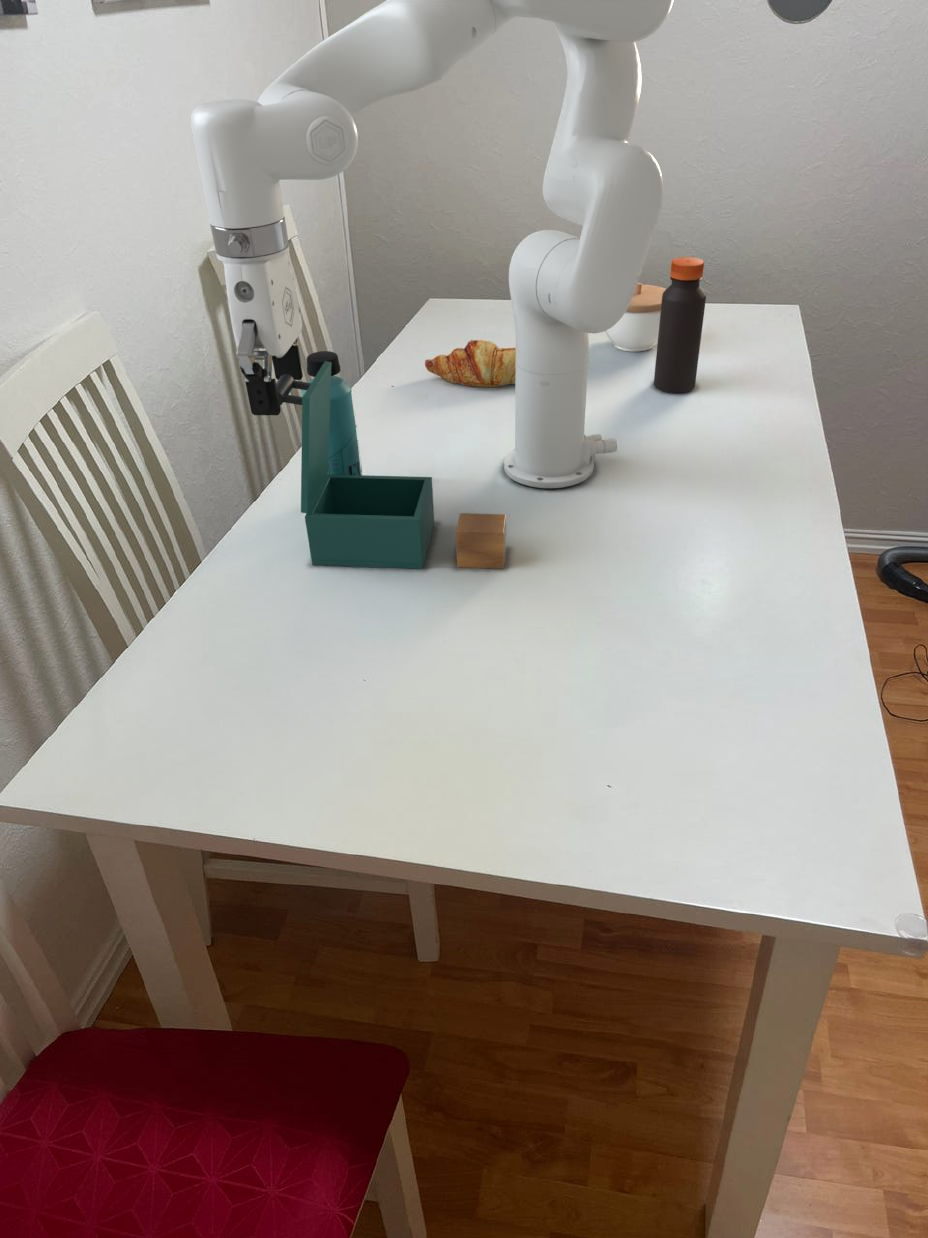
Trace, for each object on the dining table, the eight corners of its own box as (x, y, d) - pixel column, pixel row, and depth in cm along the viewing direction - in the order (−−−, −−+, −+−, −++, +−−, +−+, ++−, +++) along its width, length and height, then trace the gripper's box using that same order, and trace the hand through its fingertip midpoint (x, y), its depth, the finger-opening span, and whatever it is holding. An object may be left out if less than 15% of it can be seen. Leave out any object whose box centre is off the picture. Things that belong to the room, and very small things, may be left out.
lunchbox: (434, 523, 118) (431, 476, 114) (422, 569, 110) (419, 519, 106) (331, 520, 119) (325, 474, 115) (312, 565, 111) (304, 516, 107)
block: (506, 549, 113) (506, 514, 110) (503, 569, 109) (503, 533, 106) (461, 547, 113) (459, 512, 110) (457, 567, 110) (455, 531, 107)
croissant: (548, 393, 159) (551, 346, 158) (547, 387, 149) (550, 336, 148) (428, 388, 161) (430, 341, 160) (419, 382, 152) (421, 332, 150)
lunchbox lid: (331, 361, 106) (285, 354, 107) (309, 398, 98) (260, 390, 98) (328, 471, 115) (285, 464, 115) (307, 513, 107) (261, 506, 107)
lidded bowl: (592, 335, 172) (595, 275, 166) (657, 330, 173) (663, 270, 167) (607, 359, 162) (611, 296, 156) (677, 354, 163) (684, 291, 156)
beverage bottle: (357, 511, 121) (340, 365, 109) (309, 508, 122) (287, 363, 110) (370, 488, 126) (356, 346, 114) (325, 485, 127) (305, 344, 116)
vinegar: (645, 387, 152) (656, 262, 140) (666, 375, 156) (679, 252, 144) (681, 397, 148) (696, 270, 136) (702, 384, 152) (718, 259, 140)
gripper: (262, 262, 87) (290, 429, 97) (306, 216, 100) (327, 366, 111) (186, 263, 88) (222, 429, 98) (240, 217, 101) (267, 366, 112)
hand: (278, 395), depth 104 cm, fingers open, 9 cm apart
